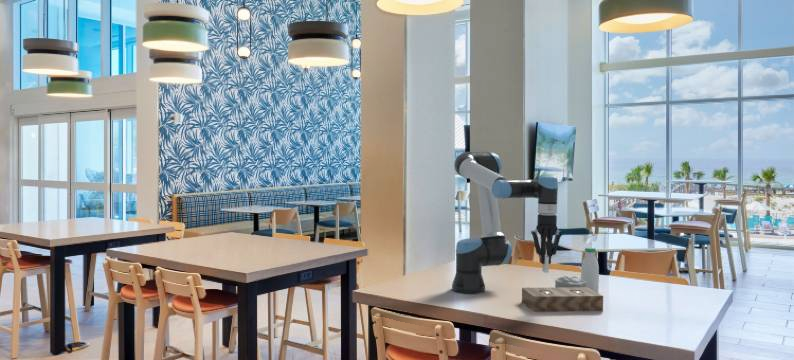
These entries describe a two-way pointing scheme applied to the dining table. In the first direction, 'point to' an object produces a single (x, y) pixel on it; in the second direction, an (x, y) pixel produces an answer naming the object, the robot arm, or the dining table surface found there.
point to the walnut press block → (562, 299)
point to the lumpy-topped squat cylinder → (570, 282)
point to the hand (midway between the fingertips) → (545, 271)
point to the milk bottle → (590, 269)
